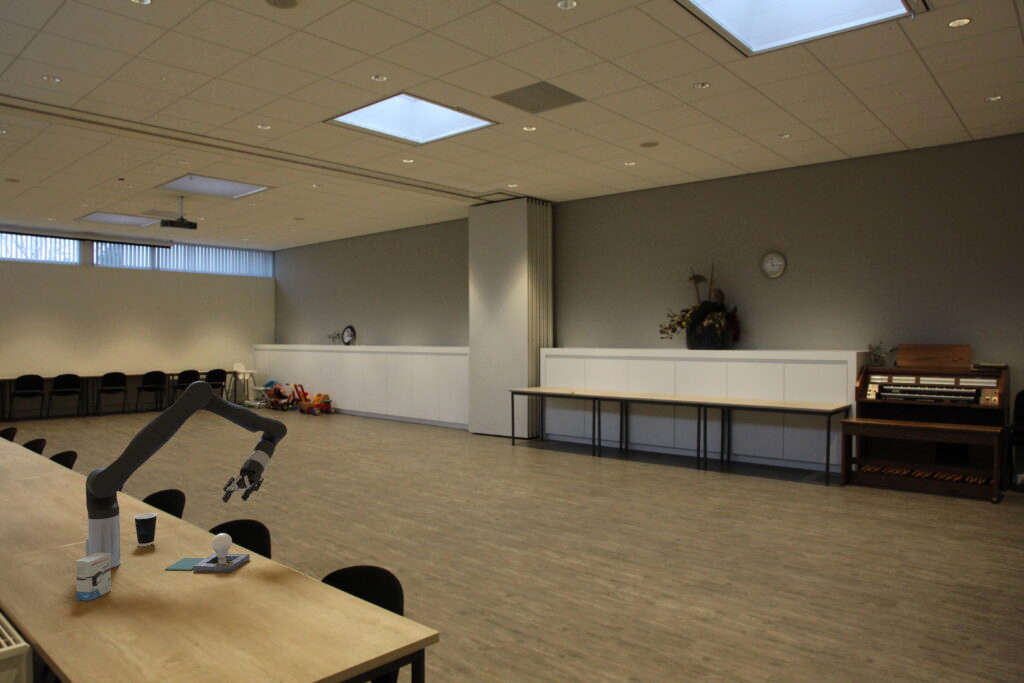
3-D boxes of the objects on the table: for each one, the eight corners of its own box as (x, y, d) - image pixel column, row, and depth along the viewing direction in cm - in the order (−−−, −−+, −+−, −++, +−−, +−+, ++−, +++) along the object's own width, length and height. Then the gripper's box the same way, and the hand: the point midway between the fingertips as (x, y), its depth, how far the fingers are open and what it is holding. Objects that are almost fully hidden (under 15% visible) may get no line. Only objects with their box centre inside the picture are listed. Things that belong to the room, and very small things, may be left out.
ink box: (89, 601, 203) (89, 561, 203) (75, 600, 204) (75, 560, 204) (112, 590, 211) (111, 552, 211) (98, 589, 212) (97, 551, 212)
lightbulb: (215, 562, 236) (215, 531, 236) (234, 562, 237) (234, 530, 236) (209, 569, 230) (208, 536, 230) (228, 568, 230) (228, 535, 230)
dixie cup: (155, 539, 264) (154, 511, 264) (160, 544, 258) (159, 515, 257) (132, 544, 259) (131, 515, 259) (136, 549, 253) (136, 519, 252)
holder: (193, 571, 227) (193, 565, 227) (214, 558, 240) (214, 553, 240) (230, 572, 226) (230, 566, 226) (249, 559, 239) (249, 554, 239)
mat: (165, 570, 229) (165, 568, 229) (184, 559, 240) (184, 557, 240) (190, 570, 228) (190, 569, 228) (208, 559, 239) (208, 558, 239)
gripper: (234, 460, 254) (211, 495, 242) (265, 456, 249) (244, 492, 237) (245, 473, 258) (223, 508, 246) (275, 470, 253) (255, 505, 241)
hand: (233, 500), depth 241 cm, fingers open, 8 cm apart
